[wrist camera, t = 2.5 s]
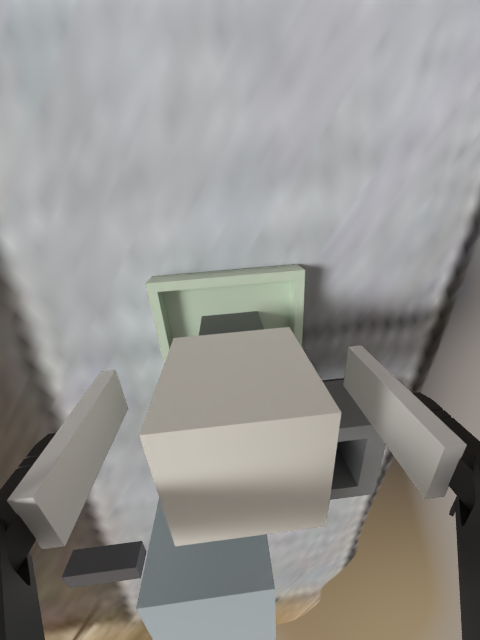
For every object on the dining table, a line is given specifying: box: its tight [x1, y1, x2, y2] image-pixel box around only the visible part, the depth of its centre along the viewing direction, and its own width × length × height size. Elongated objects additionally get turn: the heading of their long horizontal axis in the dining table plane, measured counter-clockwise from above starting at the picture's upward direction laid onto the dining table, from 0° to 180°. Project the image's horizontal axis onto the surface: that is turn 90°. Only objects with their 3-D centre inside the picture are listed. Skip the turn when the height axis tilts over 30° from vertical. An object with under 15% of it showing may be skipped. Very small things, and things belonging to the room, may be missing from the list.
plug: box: [139, 311, 341, 546], centre depth 14 cm, size 6×6×11 cm
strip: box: [62, 380, 386, 640], centre depth 18 cm, size 8×21×12 cm, turn 94°
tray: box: [145, 264, 305, 364], centre depth 18 cm, size 10×10×2 cm
